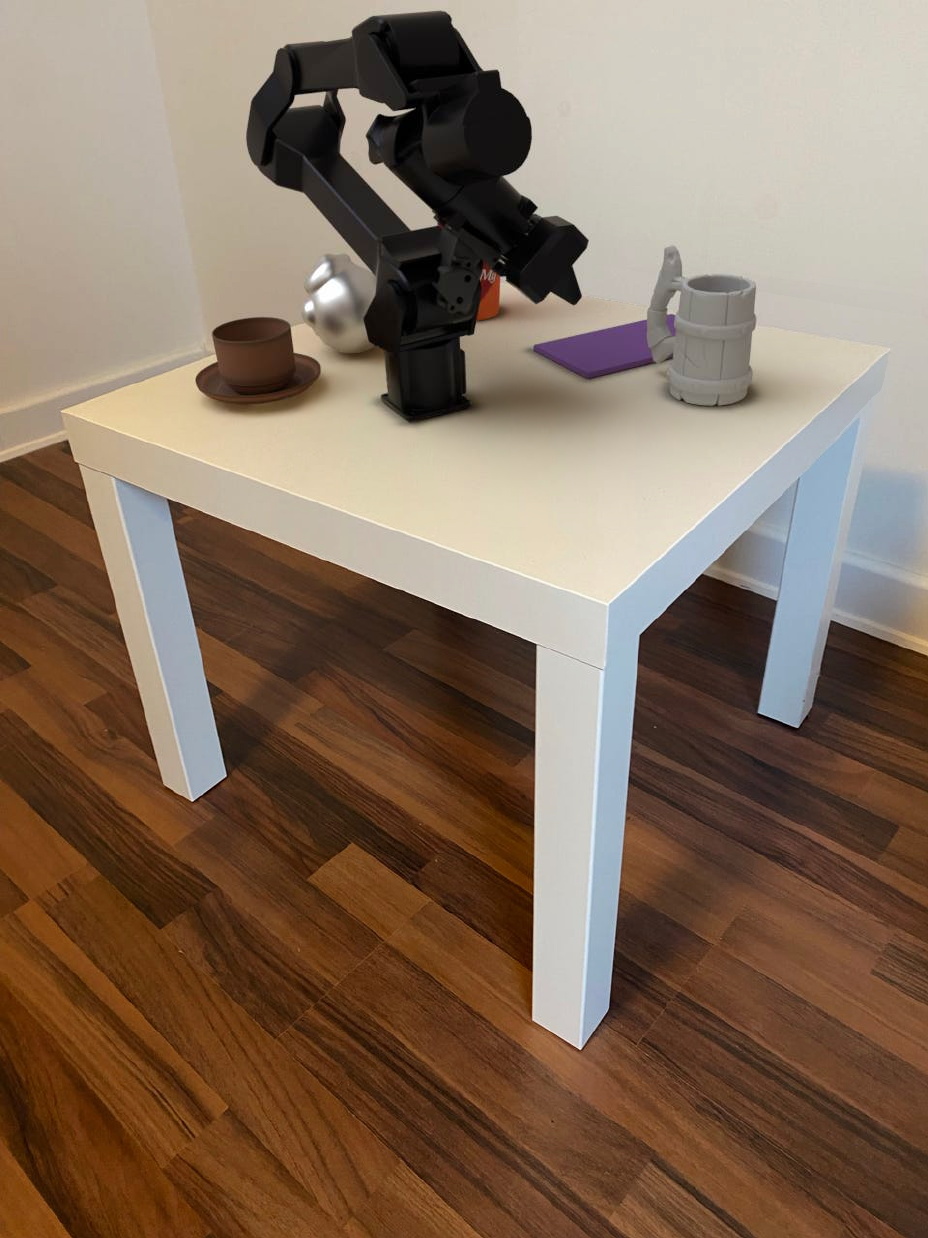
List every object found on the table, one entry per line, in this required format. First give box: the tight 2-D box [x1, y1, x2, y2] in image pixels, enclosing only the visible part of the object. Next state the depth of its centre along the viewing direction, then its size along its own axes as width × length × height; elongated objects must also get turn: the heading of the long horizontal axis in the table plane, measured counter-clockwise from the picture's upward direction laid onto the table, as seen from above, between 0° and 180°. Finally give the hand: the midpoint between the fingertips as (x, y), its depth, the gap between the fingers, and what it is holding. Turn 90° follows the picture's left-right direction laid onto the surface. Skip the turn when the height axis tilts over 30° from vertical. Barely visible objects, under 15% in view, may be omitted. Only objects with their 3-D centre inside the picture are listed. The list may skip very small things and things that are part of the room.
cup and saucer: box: [194, 316, 322, 406], centre depth 94 cm, size 12×12×6 cm
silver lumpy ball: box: [301, 253, 376, 354], centre depth 101 cm, size 9×10×10 cm
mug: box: [646, 244, 757, 407], centre depth 89 cm, size 8×12×12 cm, turn 36°
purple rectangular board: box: [533, 313, 676, 380], centre depth 101 cm, size 18×10×1 cm, turn 118°
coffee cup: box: [436, 221, 501, 322], centre depth 109 cm, size 8×8×15 cm
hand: (576, 300), depth 87 cm, fingers closed
